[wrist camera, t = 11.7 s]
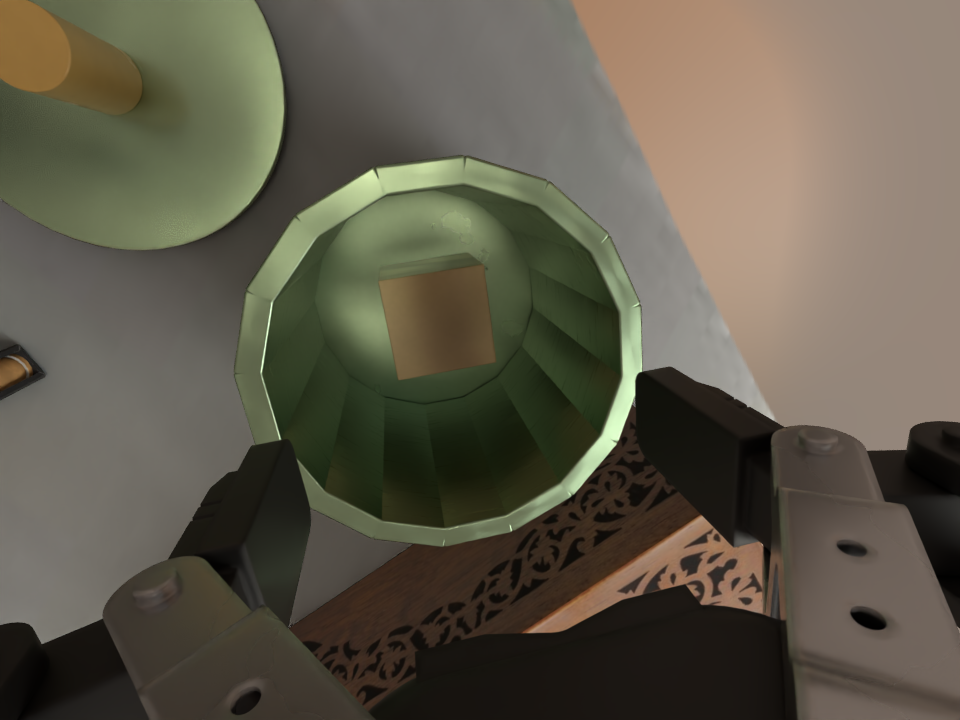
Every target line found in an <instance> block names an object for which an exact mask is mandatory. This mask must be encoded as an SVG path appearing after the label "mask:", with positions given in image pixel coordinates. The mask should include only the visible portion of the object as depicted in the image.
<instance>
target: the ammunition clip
mask: <svg viewBox="0 0 960 720" xmlns="http://www.w3.org/2000/svg"><path fill="white" fill-rule="evenodd" d="M44 377H45V374H44V372H43V371H42V370H41V369H40V368H39V367H38V366H37V365H36V363H35V362H34V361H33V360H32V359H31V358H30V357H29V356H28V355H27V353H26V352H25V351H24V350H23V349H22V348H21V347H20V346H19V345H14V346H12V347H9V348H7V349H4V350H2V351H0V400H2V399H4V398H6V397H7V396H9V395H11V394H13V393H15V392H17V391H19V390H21V389H23V388H25V387H26V386H28V385H30V384H32V383H34V382H36V381H38V380H40V379H42V378H44Z"/></svg>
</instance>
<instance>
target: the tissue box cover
mask: <svg viewBox="0 0 960 720" xmlns="http://www.w3.org/2000/svg"><path fill="white" fill-rule="evenodd" d="M762 553H763V546H762V544H761V543H760V542H755V543H751V544H747V545H743V546H739V547H735V548H733V547H732V546H731V545H730V544H729V543H728V542H727V541H726V540H725V538H724V537H723V536H722V535H721V534H720V533H719V532H718V531H717V530H716V529H715V528H714V527H713V526H712V525H711V524H710V523H709V522H708V521H707V520H706V519H705V518H704V517H703V516H702V515H701V514H700V513H699V512H698V511H697V510H696V509H695V508H694V507H693V506H692V505H691V504H690V503H689V502H688V501H687V500H686V499H685V498H684V497H683V496H682V495H681V494H680V493H679V492H678V491H677V490H676V489H675V488H674V487H673V486H672V485H671V483H670V482H669V481H668V480H667V479H666V478H665V477H664V476H663V475H662V474H661V473H660V472H659V471H658V470H657V469H656V468H655V467H654V466H653V465H652V464H651V463H650V462H649V461H648V460H647V459H646V458H645V457H644V455H643V454H642V452H641V450H640V447H639V444H638V441H637V435H636V408H635V407H634V406H633V405H632V406H631V409H630V412H629V414H628V417H627V420H626V422H625V425H624V428H623V431H622V433H621V436H620V439H619V441H618V442H617V445H616V446H615V447H614V448H613V449H612V451H611V452H610V453H609V454H608V455H607V456H606V458H605V459H604V460H603V461H602V462H601V464H600V465H599V466H598V467H597V468H596V469H595V471H594V472H593V473H592V474H591V475H590V477H589V478H588V479H587V480H586V481H585V482H584V484H583V485H582V486H581V487H580V488H579V489H578V491H577V492H576V493H575V494H574V495H572V496H571V497H570V498H568V499H567V500H565V501H563V502H562V503H560V504H558V505H557V506H555V507H553V508H552V509H550V510H548V511H547V512H545V513H543V514H542V515H540V516H538V517H537V518H535V519H533V520H532V521H530V522H528V523H527V524H525V525H523V526H522V527H520V528H518V529H517V530H515V531H513V530H512V532H510V533H505V534H501V535H496V536H491V537H487V538H482V539H478V540H473V541H469V542H464V543H460V544H455V545H451V546H443V547H439V546H430V545H421V544H414V545H413V546H411V547H410V548H408V549H407V550H405V551H404V552H402V553H401V554H399V555H398V556H396V557H395V558H393V559H392V560H390V561H389V562H387V563H386V564H384V565H383V566H381V567H380V568H378V569H377V570H375V571H374V572H372V573H371V574H369V575H368V576H366V577H365V578H364V579H362V580H361V581H359V582H358V583H356V584H355V585H353V586H352V587H350V588H349V589H347V590H346V591H344V592H343V593H341V594H340V595H338V596H337V597H335V598H334V599H332V600H331V601H329V602H328V603H326V604H325V605H323V606H322V607H320V608H319V609H317V610H316V611H314V612H313V613H311V614H310V615H308V616H307V617H306V618H304V619H303V620H301V621H300V622H298V623H297V624H295V625H294V626H292V627H291V628H289V630H290V631H291V632H292V633H293V634H294V635H295V636H296V637H297V638H298V639H299V640H300V641H301V642H302V643H303V644H304V645H305V646H306V647H307V648H308V649H309V650H310V652H311V653H312V654H313V655H314V656H315V657H316V658H317V659H318V660H319V661H320V662H321V663H322V664H323V665H324V666H325V667H326V668H327V669H328V670H329V671H330V672H331V673H332V674H333V676H334V677H335V678H336V679H337V680H338V681H339V682H340V683H341V684H342V685H343V686H344V687H345V688H346V689H347V690H348V691H349V692H350V693H351V694H352V695H353V696H354V697H355V698H356V700H357V701H358V702H359V703H360V704H361V705H362V706H363V707H364V708H365V709H366V710H367V711H369V710H370V709H371V708H372V707H373V706H374V705H375V704H377V703H378V702H379V701H380V700H382V699H383V698H384V697H385V696H386V695H388V694H389V693H391V692H392V691H394V690H395V689H397V688H398V687H400V686H401V685H403V684H404V683H406V682H408V681H410V680H412V679H413V678H415V677H416V667H415V651H419V650H423V649H427V648H431V647H435V646H439V645H443V644H447V643H451V642H455V641H459V640H463V639H467V638H471V637H475V636H479V635H483V634H511V633H552V632H560V631H564V630H566V629H568V628H570V627H572V626H574V625H576V624H577V623H579V622H581V621H583V620H585V619H587V618H589V617H591V616H592V615H594V614H596V613H598V612H600V611H602V610H604V609H606V608H608V607H609V606H611V605H613V604H615V603H617V602H619V601H621V600H623V599H627V598H631V597H635V596H639V595H643V594H647V593H651V592H655V591H659V590H663V589H667V588H671V587H675V586H679V585H683V584H686V586H687V587H688V588H689V589H690V591H691V592H692V593H693V595H694V596H695V597H696V599H697V600H698V601H699V603H700V604H701V605H718V606H728V607H734V608H740V609H745V610H749V611H753V612H757V613H761V614H763V610H762Z"/></svg>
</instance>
